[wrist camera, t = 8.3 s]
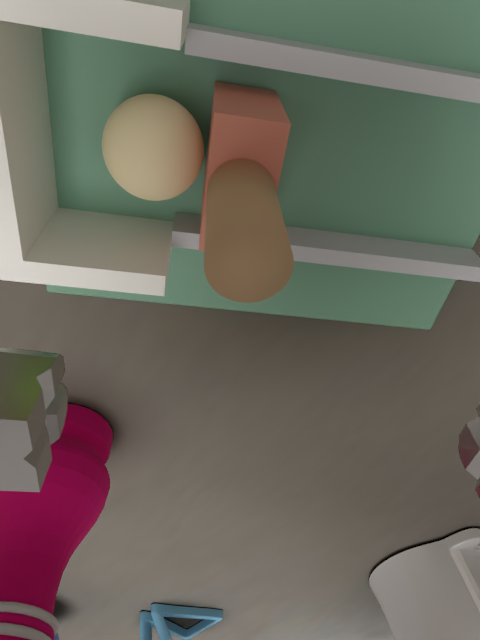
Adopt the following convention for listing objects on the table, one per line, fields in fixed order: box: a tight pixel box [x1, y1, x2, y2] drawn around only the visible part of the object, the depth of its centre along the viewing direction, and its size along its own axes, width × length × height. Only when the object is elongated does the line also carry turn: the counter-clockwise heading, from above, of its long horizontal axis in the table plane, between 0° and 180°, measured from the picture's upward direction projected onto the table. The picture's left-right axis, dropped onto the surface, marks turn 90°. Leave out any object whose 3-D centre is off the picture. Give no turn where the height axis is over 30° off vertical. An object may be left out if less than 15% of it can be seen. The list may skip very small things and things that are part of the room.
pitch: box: [0, 0, 480, 330], centre depth 19 cm, size 22×18×6 cm
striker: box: [199, 81, 294, 303], centre depth 16 cm, size 2×5×10 cm, turn 171°
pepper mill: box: [0, 404, 113, 640], centre depth 25 cm, size 7×7×20 cm
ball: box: [102, 94, 204, 201], centre depth 18 cm, size 4×4×4 cm
